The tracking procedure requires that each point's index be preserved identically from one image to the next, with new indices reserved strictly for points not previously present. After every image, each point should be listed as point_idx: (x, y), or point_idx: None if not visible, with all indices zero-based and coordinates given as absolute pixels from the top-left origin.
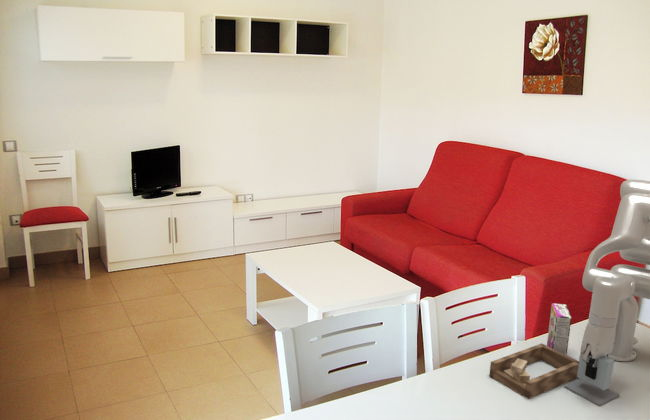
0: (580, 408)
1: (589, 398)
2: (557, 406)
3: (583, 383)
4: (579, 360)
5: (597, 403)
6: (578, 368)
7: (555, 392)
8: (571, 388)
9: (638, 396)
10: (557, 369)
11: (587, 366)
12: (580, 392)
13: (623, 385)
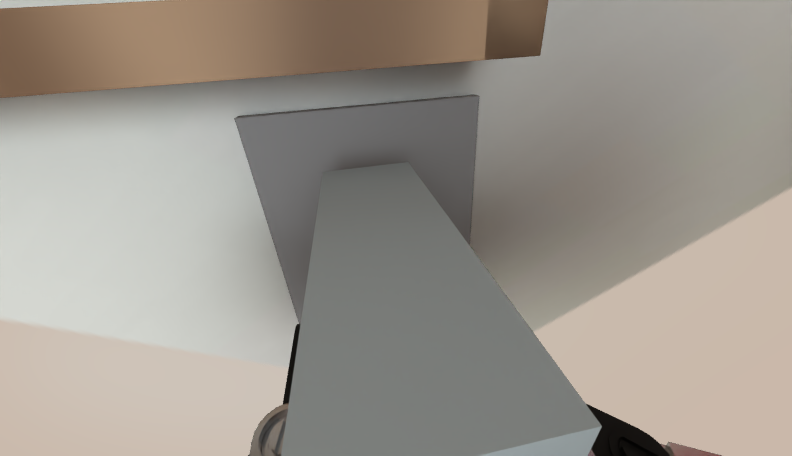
0: (187, 312)
1: (293, 284)
2: (37, 264)
3: (398, 157)
4: (311, 265)
5: (299, 322)
6: (319, 209)
7: (120, 137)
8: (263, 170)
9: (532, 316)
10: (102, 21)
11: (283, 401)
12: (289, 225)
13: (578, 239)
